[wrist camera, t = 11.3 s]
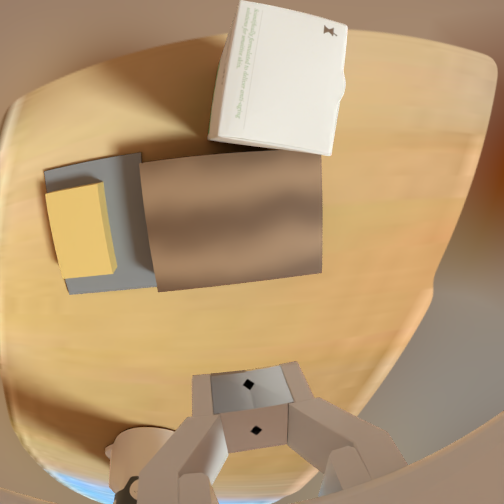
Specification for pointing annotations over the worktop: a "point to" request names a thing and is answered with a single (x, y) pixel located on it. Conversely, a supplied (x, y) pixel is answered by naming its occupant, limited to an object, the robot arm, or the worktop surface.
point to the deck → (233, 217)
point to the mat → (114, 220)
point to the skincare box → (279, 80)
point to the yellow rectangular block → (81, 231)
